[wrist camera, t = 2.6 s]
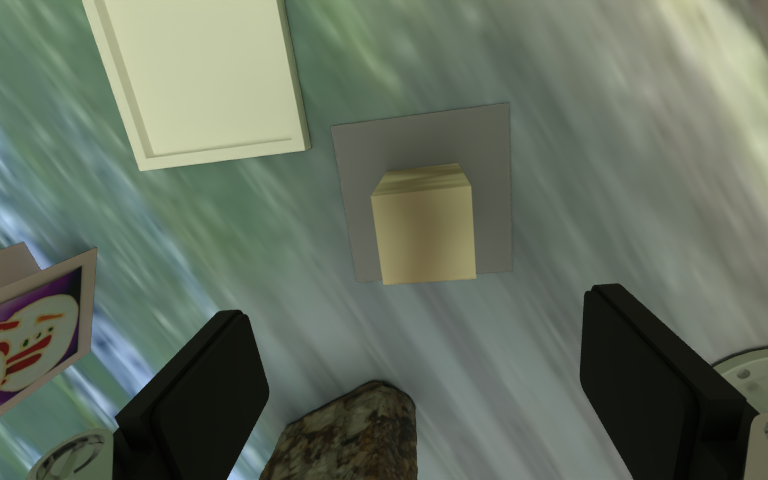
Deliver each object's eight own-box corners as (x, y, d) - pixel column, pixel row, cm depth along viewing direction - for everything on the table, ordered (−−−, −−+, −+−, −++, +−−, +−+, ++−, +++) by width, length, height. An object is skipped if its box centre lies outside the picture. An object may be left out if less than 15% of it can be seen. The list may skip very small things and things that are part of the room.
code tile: (508, 102, 24) (509, 102, 24) (511, 270, 28) (512, 271, 28) (331, 126, 26) (330, 126, 26) (357, 281, 30) (356, 282, 29)
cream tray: (272, -63, 22) (261, -75, 21) (311, 148, 27) (305, 150, 25) (91, -24, 24) (70, -33, 23) (154, 167, 28) (139, 171, 27)
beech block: (457, 162, 26) (471, 185, 18) (462, 231, 27) (476, 278, 20) (386, 171, 26) (370, 196, 19) (395, 237, 28) (383, 285, 20)
